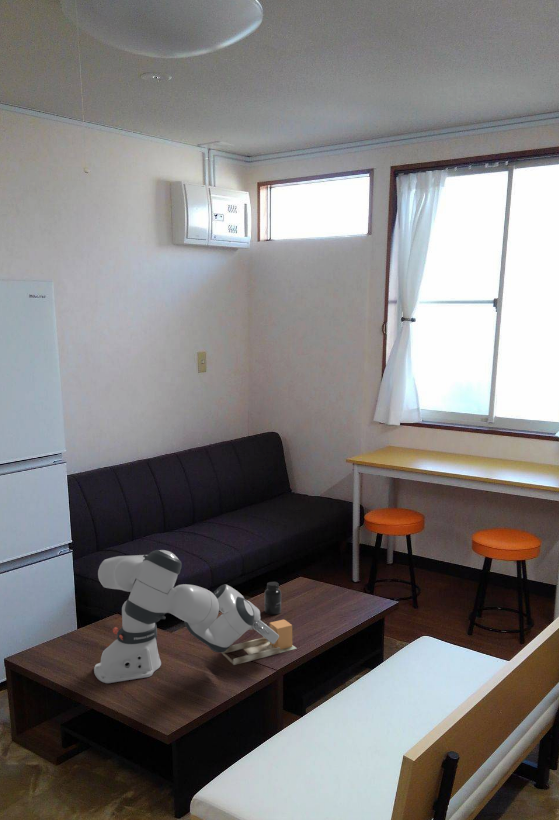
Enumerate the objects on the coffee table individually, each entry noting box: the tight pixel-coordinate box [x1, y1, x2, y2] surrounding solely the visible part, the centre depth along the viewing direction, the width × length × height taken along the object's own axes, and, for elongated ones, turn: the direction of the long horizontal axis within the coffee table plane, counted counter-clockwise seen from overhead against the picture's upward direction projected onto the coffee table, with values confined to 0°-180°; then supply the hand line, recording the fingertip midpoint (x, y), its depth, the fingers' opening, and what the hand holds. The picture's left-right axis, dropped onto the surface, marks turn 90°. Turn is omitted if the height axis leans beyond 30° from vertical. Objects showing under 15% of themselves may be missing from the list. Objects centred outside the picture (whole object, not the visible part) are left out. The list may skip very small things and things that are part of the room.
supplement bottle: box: [264, 581, 282, 616], centre depth 288 cm, size 7×7×12 cm
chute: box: [221, 636, 298, 666], centre depth 250 cm, size 25×10×4 cm, turn 119°
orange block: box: [269, 619, 293, 650], centre depth 254 cm, size 6×6×8 cm
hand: (272, 637), depth 252 cm, fingers closed
